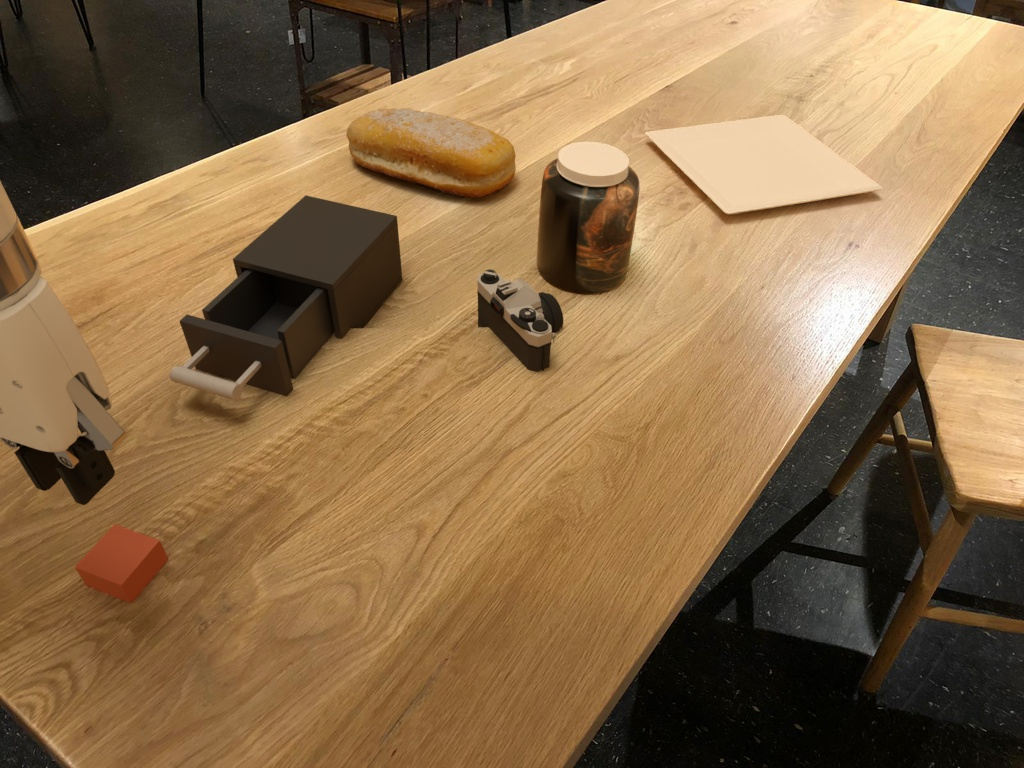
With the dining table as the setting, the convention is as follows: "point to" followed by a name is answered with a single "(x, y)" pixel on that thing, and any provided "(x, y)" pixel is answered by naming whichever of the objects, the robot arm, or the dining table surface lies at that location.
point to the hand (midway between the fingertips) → (76, 480)
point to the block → (122, 563)
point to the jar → (587, 218)
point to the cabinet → (332, 256)
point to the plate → (760, 163)
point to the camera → (519, 317)
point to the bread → (433, 151)
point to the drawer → (255, 335)
